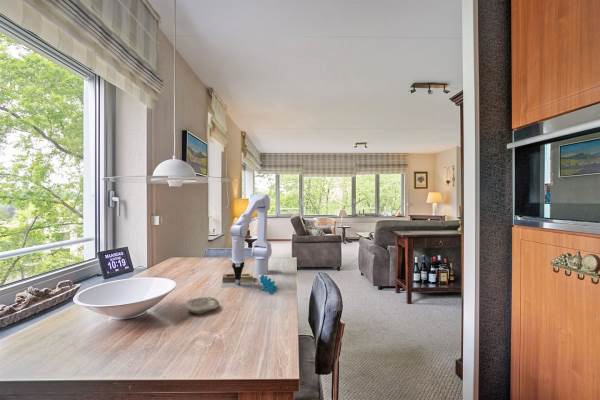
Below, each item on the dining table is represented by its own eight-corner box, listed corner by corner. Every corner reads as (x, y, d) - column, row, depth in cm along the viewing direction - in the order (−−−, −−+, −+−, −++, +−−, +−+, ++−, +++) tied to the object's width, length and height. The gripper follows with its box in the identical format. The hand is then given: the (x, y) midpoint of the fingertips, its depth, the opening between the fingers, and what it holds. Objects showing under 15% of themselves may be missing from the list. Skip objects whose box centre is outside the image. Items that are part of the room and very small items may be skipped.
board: (223, 279, 153) (223, 278, 153) (253, 278, 156) (253, 277, 156) (221, 289, 137) (221, 287, 137) (254, 287, 140) (254, 286, 140)
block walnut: (223, 278, 152) (223, 274, 152) (237, 278, 153) (237, 273, 153) (222, 282, 145) (222, 277, 145) (237, 282, 146) (237, 277, 146)
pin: (235, 284, 143) (235, 267, 143) (240, 284, 143) (240, 267, 143) (235, 285, 140) (235, 268, 140) (240, 285, 141) (240, 268, 141)
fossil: (223, 313, 111) (224, 305, 111) (189, 319, 104) (190, 311, 104) (213, 302, 120) (214, 295, 120) (181, 307, 113) (182, 299, 113)
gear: (270, 293, 126) (257, 275, 130) (261, 302, 127) (248, 283, 131) (282, 290, 136) (270, 272, 140) (273, 298, 137) (261, 280, 141)
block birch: (238, 278, 153) (238, 273, 153) (252, 277, 154) (252, 273, 154) (238, 282, 146) (238, 277, 146) (252, 281, 147) (252, 276, 147)
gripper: (230, 247, 148) (230, 275, 148) (228, 253, 134) (228, 283, 134) (245, 247, 149) (244, 274, 149) (244, 252, 135) (244, 282, 135)
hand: (238, 278), depth 142 cm, fingers closed on pin, 2 cm apart
